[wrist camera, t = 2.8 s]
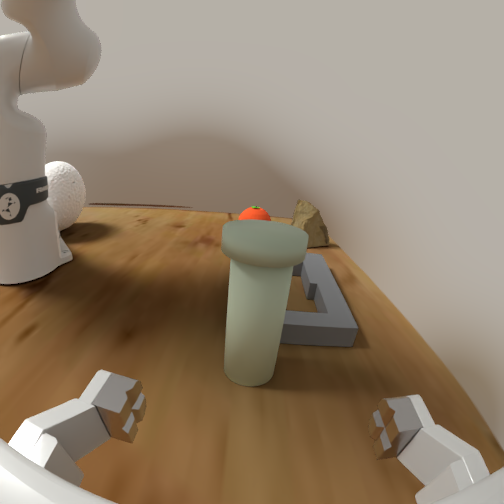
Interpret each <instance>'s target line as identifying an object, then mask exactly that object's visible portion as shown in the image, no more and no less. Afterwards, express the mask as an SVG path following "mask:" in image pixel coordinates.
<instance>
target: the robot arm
mask: <svg viewBox="0 0 504 504" xmlns="http://www.w3.org/2000/svg"><path fill="white" fill-rule="evenodd" d="M1 7H2V10H3V13H4V14H5V16H6V17H7V18H9V19H11V20H13V21H16V22H18V23H20V24H22V25H24V26H25V27H26V28H27V29H28V31H26V32H19V33H13V34H8V35H3V36H0V284H16V283H22V282H26V281H30V280H33V279H36V278H39V277H41V276H44V275H46V274H48V273H49V272H51V271H52V270H54V269H55V268H56V267H58V266H59V265H61V264H64V263H66V262H68V261H70V260H72V259H73V257H72V253H71V251H70V250H69V248H68V247H67V245H66V244H65V242H64V241H63V239H62V238H61V233H60V231H59V230H58V223H57V213H56V211H54V209H53V208H52V207H51V206H50V205H49V204H48V201H47V198H48V180H47V176H45V155H46V136H47V134H46V129H45V126H44V125H43V123H42V122H41V121H40V120H39V119H37V118H36V117H34V116H32V115H30V114H28V113H26V112H23V111H21V110H19V109H18V106H17V101H18V97H19V96H20V95H22V94H27V93H35V92H45V91H58V90H61V89H66V88H70V87H74V86H78V85H82V84H83V83H85V82H86V81H87V80H88V79H89V78H90V77H91V76H92V74H93V73H94V71H95V70H96V68H97V66H98V63H99V61H100V56H101V43H100V40H99V38H98V36H97V35H96V33H95V32H94V31H92V30H91V29H90V28H88V27H87V26H86V25H85V23H84V22H83V21H82V20H81V18H80V16H79V14H78V11H77V8H76V2H75V0H2V2H1ZM142 389H143V387H142V384H141V381H138V380H135V379H131V378H128V377H124V376H121V375H118V374H115V373H111V372H108V371H105V370H102V369H101V370H99V371H98V372H97V373H96V375H95V376H94V377H93V379H92V380H91V382H90V383H89V385H88V386H87V388H86V389H85V391H84V392H83V394H82V395H81V397H80V398H79V399H76V398H75V399H72V400H70V401H68V402H66V403H63V404H61V405H59V406H56V407H54V408H52V409H50V410H47V411H45V412H42V413H40V414H38V415H35V416H33V417H30V418H28V419H25V421H24V422H23V423H22V425H21V426H20V428H19V429H18V431H17V432H16V433H15V435H14V436H13V438H12V439H11V441H10V442H9V444H7V443H6V442H5V441H4V440H2V439H1V438H0V504H117V503H115V502H112V501H109V500H107V499H104V498H102V497H100V496H97V495H95V494H93V493H90V492H88V491H86V490H84V489H82V488H80V487H79V486H80V483H81V481H82V479H83V477H84V474H83V472H82V470H81V469H80V468H79V467H78V466H77V465H76V463H75V462H76V461H77V460H79V459H80V458H82V457H84V456H85V455H87V454H88V453H90V452H91V451H93V450H94V449H96V448H97V447H99V446H100V445H101V444H103V443H104V442H106V441H107V440H109V439H110V437H112V438H115V439H119V440H122V441H125V442H129V443H133V441H134V439H135V436H136V434H137V432H138V427H137V423H138V422H140V421H142V420H143V417H144V415H145V410H146V399H145V396H144V395H143V394H142V393H141V391H142ZM377 407H378V410H377V411H376V412H374V413H373V414H372V416H371V418H370V419H369V425H368V428H369V434H370V437H371V438H372V439H374V440H375V443H374V445H373V448H374V452H375V455H376V459H377V460H380V459H387V458H393V457H397V459H398V460H399V461H400V462H401V463H402V464H403V465H404V466H405V467H406V468H407V469H409V470H410V471H411V472H412V473H413V474H414V475H415V476H416V477H417V478H418V479H419V480H420V481H421V482H422V483H423V484H424V485H425V487H424V488H422V489H421V490H420V491H419V492H417V494H416V495H415V498H416V501H417V504H504V467H502V468H501V469H499V470H497V471H496V472H494V473H492V474H491V475H490V473H489V471H488V469H487V467H486V464H485V462H484V460H483V458H482V456H481V454H480V452H479V450H477V449H475V448H474V447H472V446H471V445H469V444H468V443H466V442H464V441H463V440H461V439H460V438H458V437H457V436H455V435H454V434H452V433H451V432H449V431H448V430H446V429H444V428H443V427H441V426H440V425H435V423H434V421H433V419H432V417H431V415H430V413H429V411H428V409H427V407H426V406H425V404H424V402H423V400H422V398H421V396H420V395H418V394H417V395H410V396H401V397H394V398H385V399H382V400H381V401H380V402H379V403H378V405H377Z"/></svg>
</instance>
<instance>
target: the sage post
mask: <svg viewBox="0 0 504 504" xmlns="http://www.w3.org/2000/svg"><path fill="white" fill-rule="evenodd" d="M308 238H309V236H308V234H307V233H306V232H305V231H303V230H302V229H300V228H297V227H294V226H292V225H288V224H284V223H280V222H274V221H267V220H252V219H248V220H235V221H230V222H227V223H225V224H224V225H223V232H222V246H221V249H222V252H223V253H224V254H225V255H226V256H228V257H229V258H231V263H230V277H229V291H228V306H227V321H226V337H225V354H224V372H225V374H226V376H227V377H228V378H229V379H230V380H231V381H233V382H235V383H237V384H239V385H243V386H259V385H262V384H265V383H267V382H268V381H269V380H270V379H271V378H272V376H273V373H274V368H275V364H276V359H277V354H278V349H279V344H280V339H281V333H282V328H283V323H284V318H285V312H286V307H287V301H288V295H289V290H290V284H291V278H292V272H293V266H295V265H298V264H300V263H302V262H303V261H304V260H305V256H306V250H307V244H308Z"/></svg>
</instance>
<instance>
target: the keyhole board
mask: <svg viewBox="0 0 504 504" xmlns="http://www.w3.org/2000/svg"><path fill="white" fill-rule="evenodd" d="M292 275H295V276H301V279H302V283H303V287H304V290H305V294H306V298H307V299H311V300H314V301H315V305H316V308H317V311H318V313H313V312H301V311H289V310H286V312H285V318H284V323H283V328H282V333H281V339H280V343H286V344H300V345H318V346H344V347H352V346H353V343H354V340H355V337H356V334H357V331H358V329H359V328H358V326H357V324H356V322H355V320H354V318H353V316H352V314H351V311H350V309H349V307H348V305H347V303H346V301H345V299H344V297H343V295H342V293H341V291H340V289H339V287H338V285H337V283H336V281H335V279H334V277H333V275H332V273H331V272H330V270H329V268H328V266H327V264H326V262H325V260H324V258H323V256H322V255H321V254H312V253H306V256H305V260H304V261H303V262H302V263H300V264H298V265H295V266H293V272H292Z"/></svg>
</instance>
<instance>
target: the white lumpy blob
mask: <svg viewBox="0 0 504 504" xmlns="http://www.w3.org/2000/svg"><path fill="white" fill-rule="evenodd" d="M45 176H47V180H48V198H47V201H48V204H49V205H50V206H51V207H52V208H53V209H54V211H56V213H57V223H58V230H59V231H61V230H64V229H66V228H68V227H70V226H71V225H72V224H74V222H75V221H76V220H77V218H78V217H79V215H80V213H81V211H82V208H83V205H84V202H85V192H86V191H85V186H84V183H83V180H82V177H81V176H80V174H79V173H78V171H77V170H76V169H75V168H74V167H73V166H72V165H70V164H68V163H65V162H60V161H55V162H51V163H48V164H47V165H45Z"/></svg>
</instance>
